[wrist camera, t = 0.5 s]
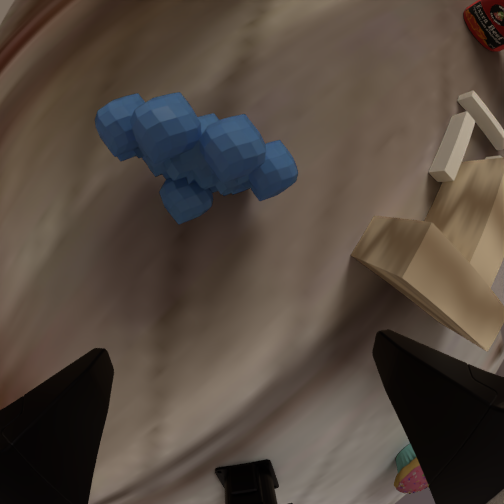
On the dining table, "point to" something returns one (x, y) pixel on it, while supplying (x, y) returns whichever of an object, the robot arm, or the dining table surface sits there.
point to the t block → (448, 252)
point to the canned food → (487, 23)
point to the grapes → (194, 151)
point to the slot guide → (464, 136)
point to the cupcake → (409, 472)
